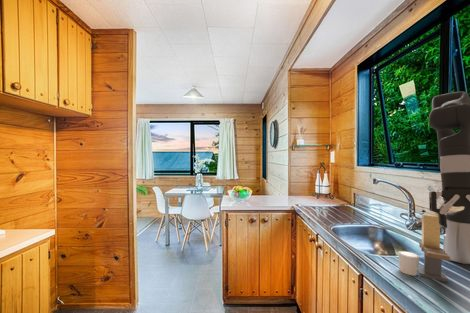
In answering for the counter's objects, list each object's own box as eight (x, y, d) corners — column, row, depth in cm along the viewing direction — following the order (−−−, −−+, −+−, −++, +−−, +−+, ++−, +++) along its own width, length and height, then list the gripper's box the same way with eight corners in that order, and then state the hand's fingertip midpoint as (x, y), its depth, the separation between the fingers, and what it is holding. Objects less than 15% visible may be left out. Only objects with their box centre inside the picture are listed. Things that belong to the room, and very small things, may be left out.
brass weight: (439, 248, 93) (440, 216, 94) (423, 245, 96) (423, 215, 97) (437, 246, 97) (437, 215, 99) (421, 243, 100) (422, 214, 101)
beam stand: (447, 281, 88) (448, 258, 88) (419, 275, 92) (420, 253, 92) (444, 276, 92) (445, 254, 92) (418, 270, 96) (418, 249, 96)
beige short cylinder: (395, 266, 99) (395, 249, 99) (415, 269, 97) (415, 252, 97) (400, 274, 92) (401, 255, 93) (422, 277, 90) (422, 258, 90)
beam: (451, 261, 82) (451, 256, 82) (425, 256, 85) (425, 252, 85) (439, 249, 99) (439, 245, 99) (418, 245, 102) (418, 242, 102)
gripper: (484, 172, 72) (491, 229, 69) (424, 173, 78) (428, 225, 76) (497, 170, 65) (505, 233, 63) (430, 171, 71) (435, 228, 69)
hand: (463, 228), depth 69 cm, fingers open, 8 cm apart
